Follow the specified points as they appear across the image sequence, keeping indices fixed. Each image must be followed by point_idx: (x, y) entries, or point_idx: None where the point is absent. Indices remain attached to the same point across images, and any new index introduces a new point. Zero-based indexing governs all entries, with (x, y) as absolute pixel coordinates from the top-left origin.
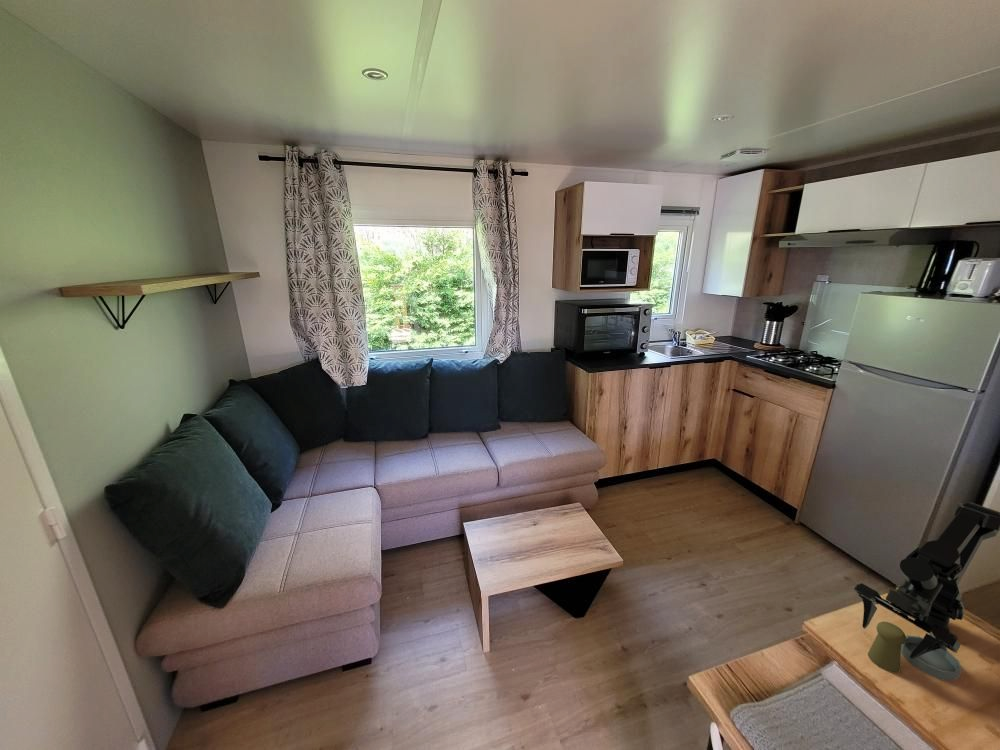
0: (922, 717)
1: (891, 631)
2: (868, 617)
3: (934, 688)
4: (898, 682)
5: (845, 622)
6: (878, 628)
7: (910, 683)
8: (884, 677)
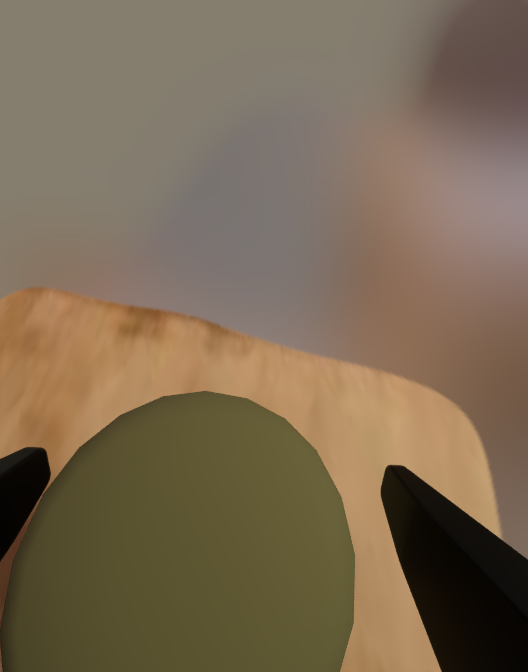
0: (62, 325)
1: (165, 447)
2: (477, 571)
3: None
4: None
5: None
6: (303, 437)
7: None
8: None
